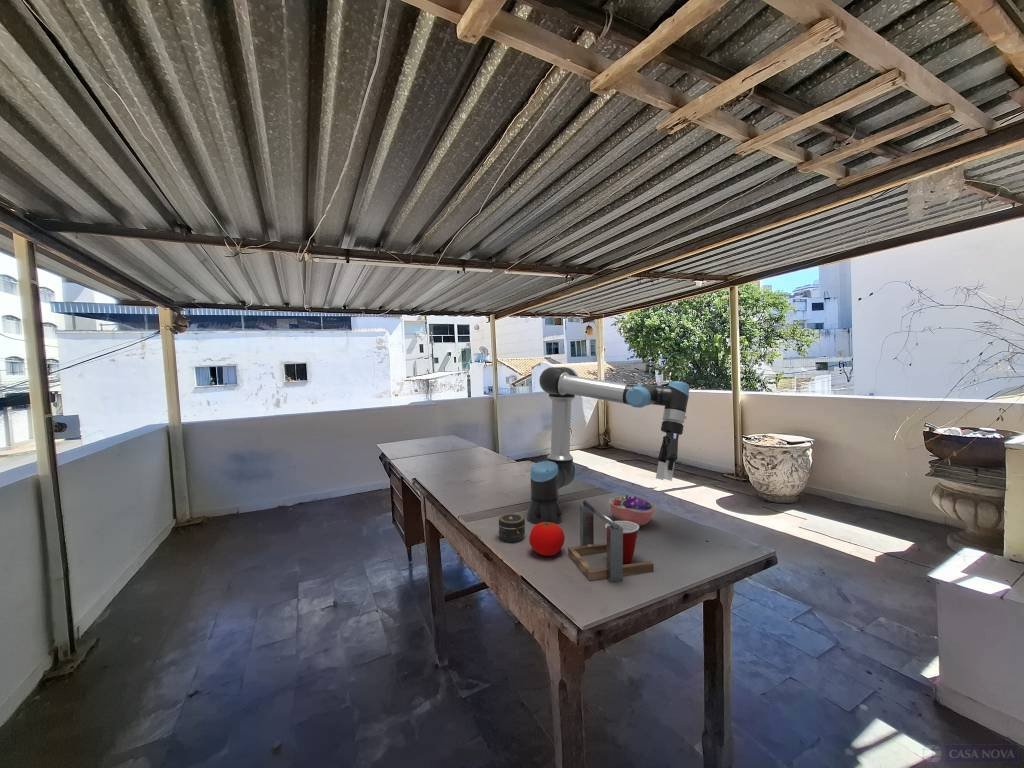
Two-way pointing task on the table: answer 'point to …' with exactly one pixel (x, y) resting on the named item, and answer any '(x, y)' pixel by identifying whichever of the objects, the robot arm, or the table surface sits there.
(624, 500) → the cell model
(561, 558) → the table surface
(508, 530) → the jar
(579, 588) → the table surface
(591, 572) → the grey and wooden frame
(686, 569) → the table surface
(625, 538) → the plastic cup
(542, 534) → the tomato
